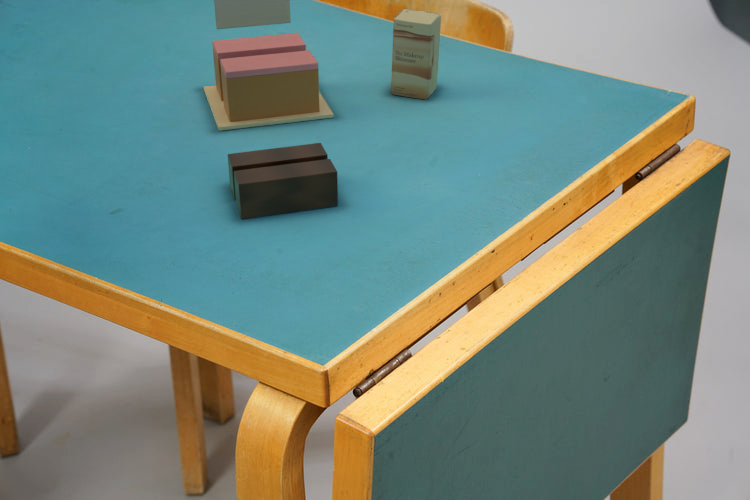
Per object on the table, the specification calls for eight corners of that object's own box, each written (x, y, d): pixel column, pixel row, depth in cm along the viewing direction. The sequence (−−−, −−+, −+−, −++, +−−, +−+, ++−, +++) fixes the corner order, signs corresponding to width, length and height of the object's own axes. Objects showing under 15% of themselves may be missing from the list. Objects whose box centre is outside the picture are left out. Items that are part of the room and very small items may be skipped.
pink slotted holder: (218, 131, 116) (214, 76, 112) (203, 89, 127) (198, 39, 123) (333, 117, 119) (332, 64, 116) (309, 78, 130) (307, 29, 126)
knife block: (241, 219, 98) (238, 184, 96) (230, 187, 104) (227, 153, 102) (338, 206, 101) (337, 171, 99) (321, 175, 106) (320, 142, 104)
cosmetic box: (389, 95, 125) (390, 18, 120) (400, 83, 129) (402, 7, 124) (428, 100, 124) (431, 23, 119) (438, 88, 127) (441, 12, 122)
